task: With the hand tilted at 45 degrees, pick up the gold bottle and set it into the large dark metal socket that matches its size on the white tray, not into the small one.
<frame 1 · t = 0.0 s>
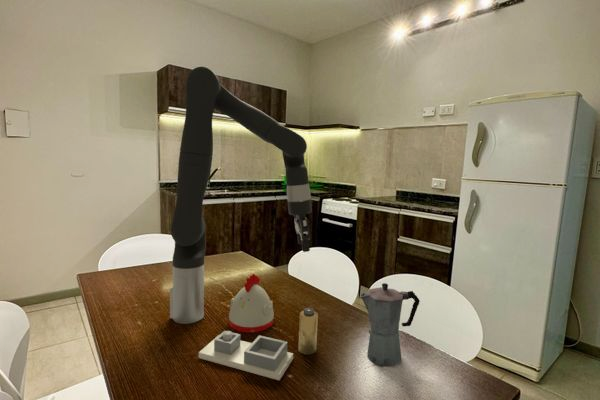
hand: (303, 247, 106), 22 cm above the table, tool pointing down, fingers open, 8 cm apart
gold bottle: (307, 349, 88), on the table
kitchen timer: (251, 321, 102), on the table
white tray: (246, 358, 83), on the table
moka pot: (384, 357, 86), on the table
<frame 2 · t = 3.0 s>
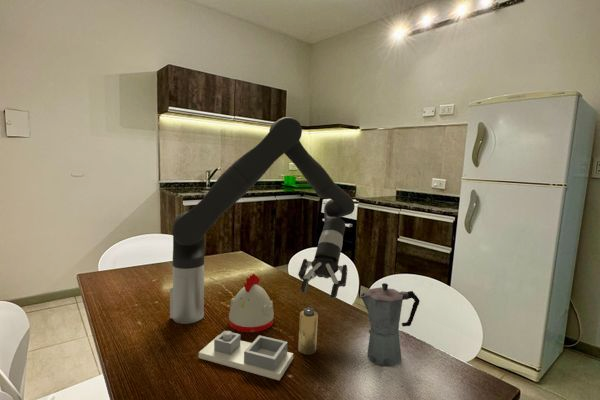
hand: (317, 295, 94), 12 cm above the table, tool tilted 45°, fingers open, 8 cm apart
nothing on the table moved.
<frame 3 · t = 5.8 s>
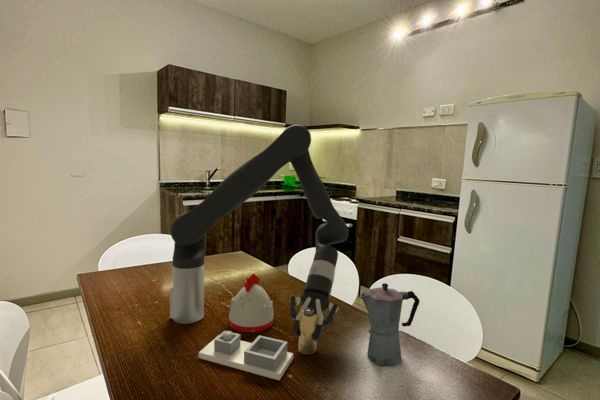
hand: (305, 338, 86), 4 cm above the table, tool tilted 45°, fingers closed on gold bottle, 4 cm apart
gold bottle: (307, 349, 88), on the table, touching gripper
everything else where it was.
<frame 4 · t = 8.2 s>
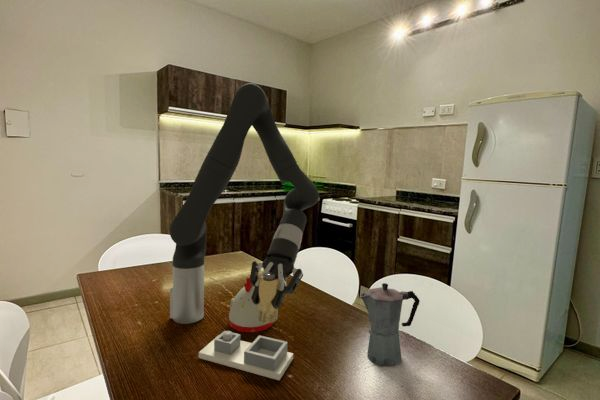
hand: (264, 305, 78), 16 cm above the table, tool tilted 45°, fingers closed on gold bottle, 4 cm apart
gold bottle: (267, 318, 80), point 12 cm above the table, touching gripper
everything else where it was.
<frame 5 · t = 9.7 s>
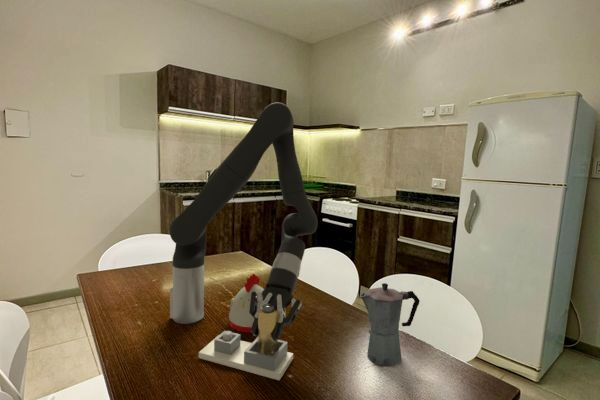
hand: (264, 337, 78), 8 cm above the table, tool tilted 45°, fingers closed on gold bottle, 4 cm apart
gold bottle: (267, 349, 81), point 4 cm above the table, touching gripper
everything else where it was.
when the fingers open (7 cm above the table, at t = 10.7 s): gold bottle drops 1 cm, resting on white tray.
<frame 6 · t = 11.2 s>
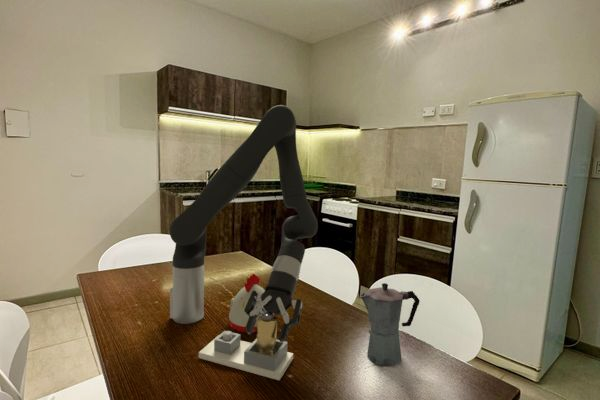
hand: (264, 337, 79), 8 cm above the table, tool tilted 45°, fingers open, 8 cm apart
gold bottle: (265, 357, 81), point 2 cm above the table, touching white tray
everything else where it was.
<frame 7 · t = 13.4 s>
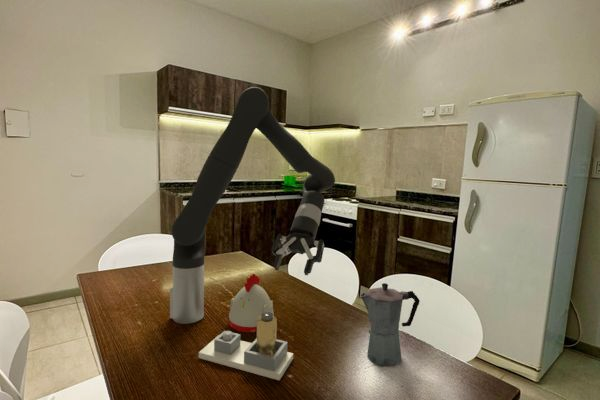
hand: (290, 271, 87), 21 cm above the table, tool tilted 45°, fingers open, 8 cm apart
nothing on the table moved.
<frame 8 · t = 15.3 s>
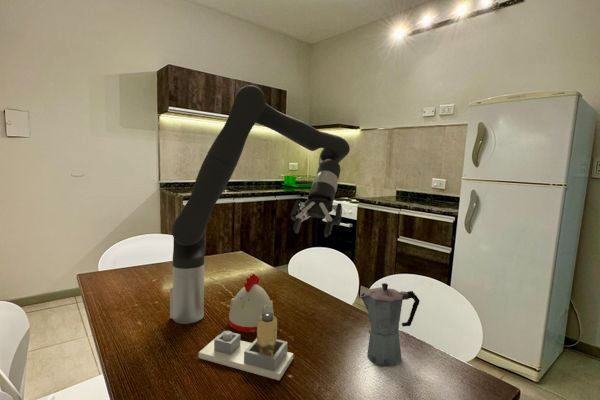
hand: (310, 233, 89), 31 cm above the table, tool tilted 45°, fingers open, 8 cm apart
nothing on the table moved.
at the end: gold bottle 0.1 cm from the target spot on the white tray, point 1.5 cm above the white tray's base; gold bottle tilted 0°; the gripper is holding nothing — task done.
